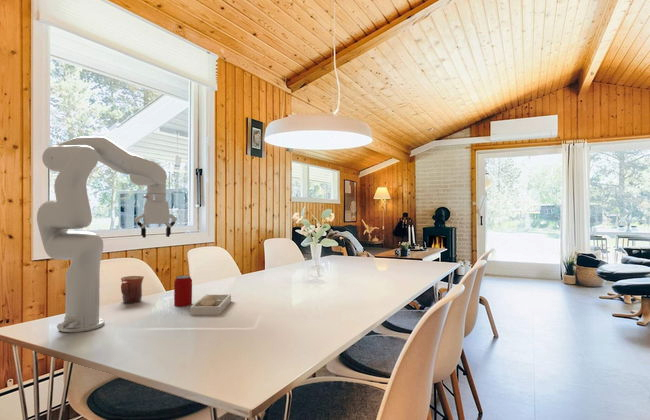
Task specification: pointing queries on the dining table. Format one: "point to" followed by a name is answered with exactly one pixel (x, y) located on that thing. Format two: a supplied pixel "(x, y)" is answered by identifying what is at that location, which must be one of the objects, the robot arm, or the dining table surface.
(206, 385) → the dining table surface
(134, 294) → the mug
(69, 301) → the robot arm
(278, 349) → the dining table surface
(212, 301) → the wooden egg
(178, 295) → the beverage can
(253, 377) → the dining table surface
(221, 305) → the carton
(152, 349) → the dining table surface
